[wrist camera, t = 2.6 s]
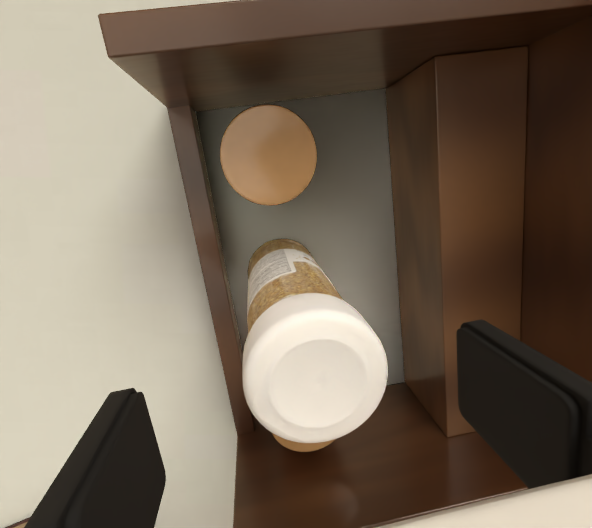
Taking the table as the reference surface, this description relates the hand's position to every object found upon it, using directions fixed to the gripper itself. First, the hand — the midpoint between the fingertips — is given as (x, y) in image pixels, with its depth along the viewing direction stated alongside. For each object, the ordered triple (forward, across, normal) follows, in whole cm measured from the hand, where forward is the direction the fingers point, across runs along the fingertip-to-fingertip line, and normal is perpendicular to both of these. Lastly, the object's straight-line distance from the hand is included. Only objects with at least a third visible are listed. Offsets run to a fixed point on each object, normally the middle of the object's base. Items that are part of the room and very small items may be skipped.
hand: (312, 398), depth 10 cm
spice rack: (+14, -5, 0) cm, 15 cm away
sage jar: (+14, 0, -7) cm, 16 cm away
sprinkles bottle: (+14, 0, 0) cm, 14 cm away
